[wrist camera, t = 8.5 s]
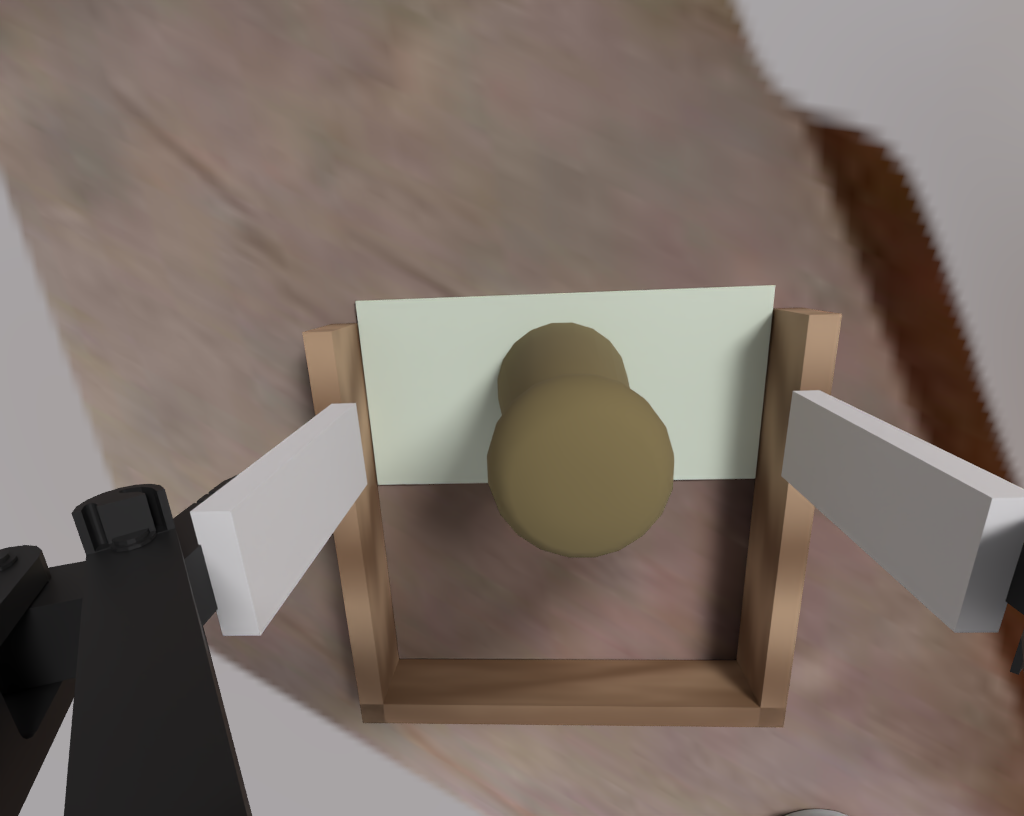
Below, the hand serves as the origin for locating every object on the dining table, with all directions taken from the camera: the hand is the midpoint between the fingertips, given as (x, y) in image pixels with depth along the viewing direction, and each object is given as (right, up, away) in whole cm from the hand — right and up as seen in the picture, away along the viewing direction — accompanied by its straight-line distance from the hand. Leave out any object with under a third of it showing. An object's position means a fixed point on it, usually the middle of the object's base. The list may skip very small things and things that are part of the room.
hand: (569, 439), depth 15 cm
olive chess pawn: (+1, +2, +8) cm, 8 cm away
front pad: (+1, +2, +8) cm, 8 cm away
